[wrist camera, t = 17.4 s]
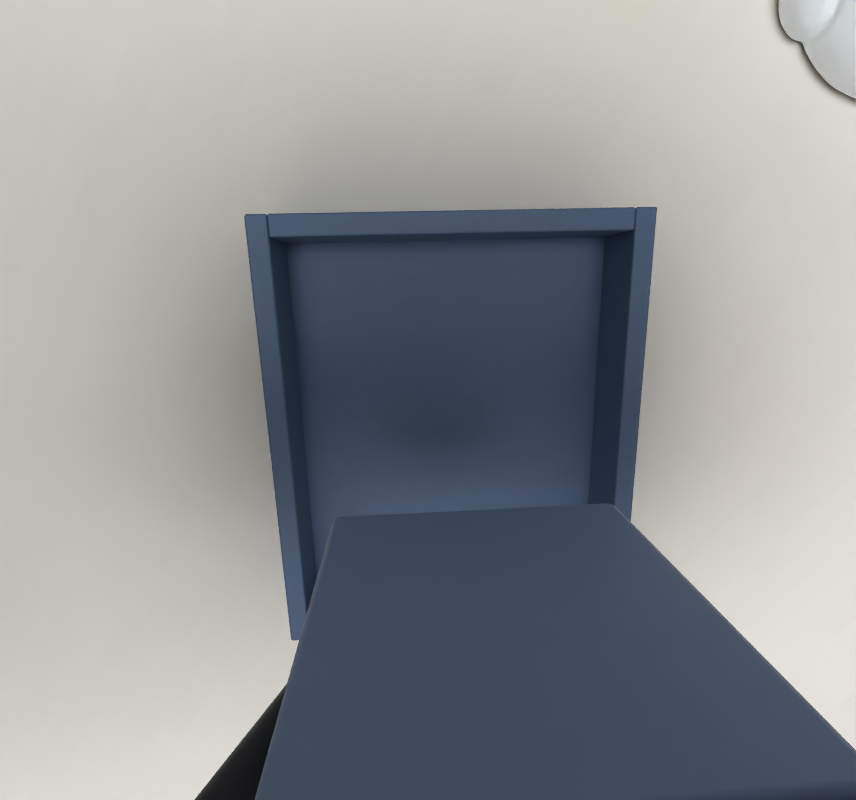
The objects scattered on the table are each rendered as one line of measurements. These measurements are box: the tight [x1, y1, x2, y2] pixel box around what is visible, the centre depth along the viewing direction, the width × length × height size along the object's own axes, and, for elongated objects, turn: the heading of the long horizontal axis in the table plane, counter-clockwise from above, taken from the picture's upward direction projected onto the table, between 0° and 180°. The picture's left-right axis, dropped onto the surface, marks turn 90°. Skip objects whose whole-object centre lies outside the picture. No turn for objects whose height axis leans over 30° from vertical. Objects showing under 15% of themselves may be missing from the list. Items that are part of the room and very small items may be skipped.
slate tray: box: [244, 207, 657, 640], centre depth 15 cm, size 11×13×2 cm
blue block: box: [255, 503, 856, 800], centre depth 6 cm, size 4×4×4 cm
